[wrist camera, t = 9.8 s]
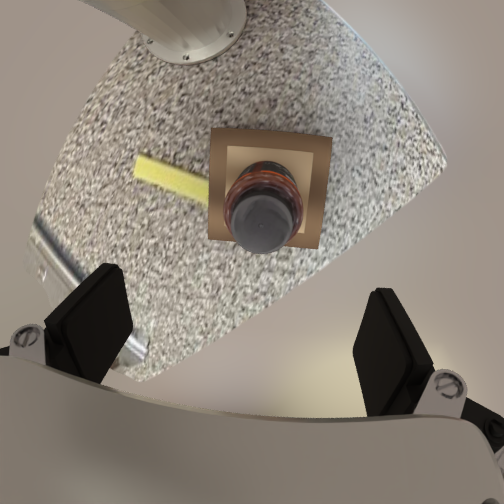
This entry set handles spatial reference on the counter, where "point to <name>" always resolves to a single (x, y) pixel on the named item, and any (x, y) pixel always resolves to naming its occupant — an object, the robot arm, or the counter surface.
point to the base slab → (277, 150)
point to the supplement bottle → (263, 208)
